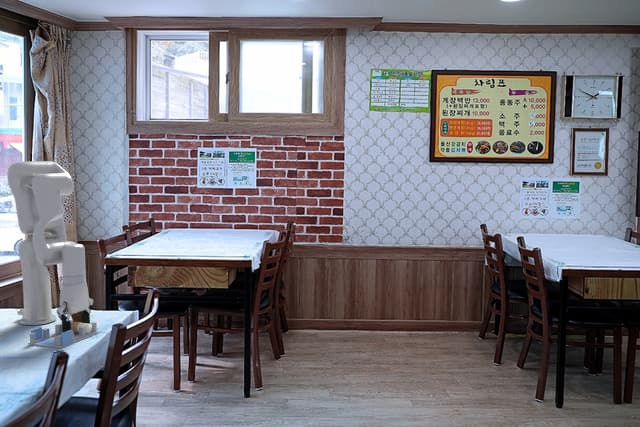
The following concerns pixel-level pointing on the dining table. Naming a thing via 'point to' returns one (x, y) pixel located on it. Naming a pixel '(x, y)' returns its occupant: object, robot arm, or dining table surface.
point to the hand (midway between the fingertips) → (76, 328)
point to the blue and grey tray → (59, 336)
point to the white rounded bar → (76, 326)
